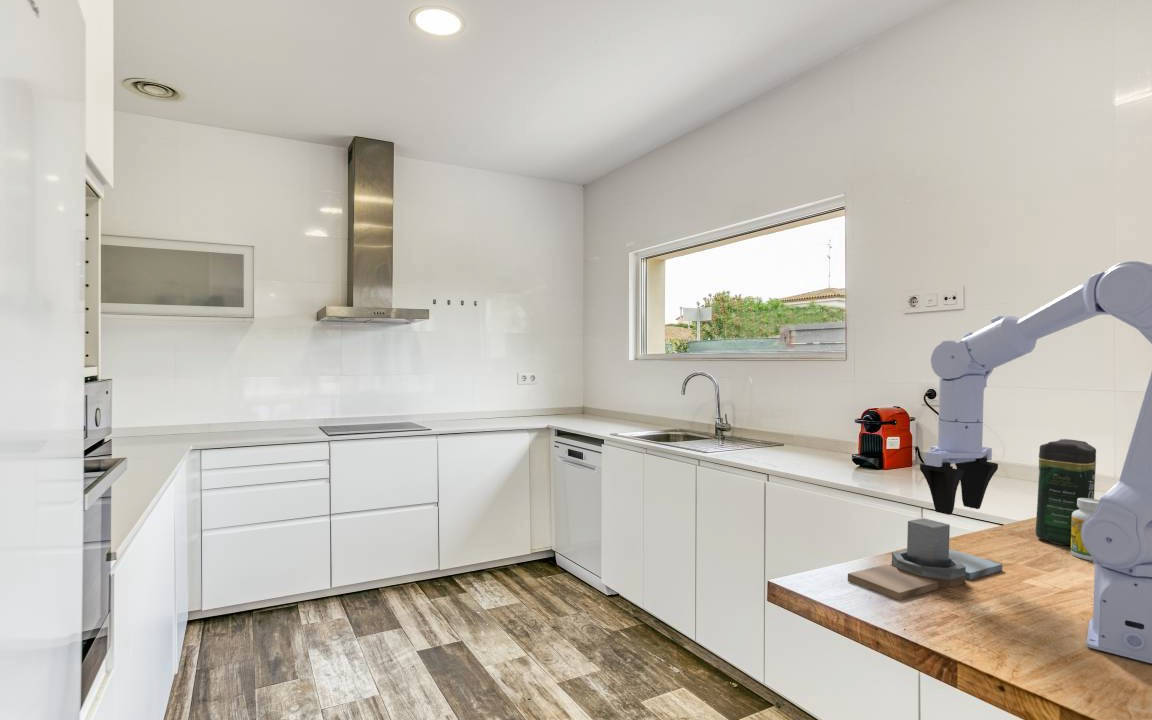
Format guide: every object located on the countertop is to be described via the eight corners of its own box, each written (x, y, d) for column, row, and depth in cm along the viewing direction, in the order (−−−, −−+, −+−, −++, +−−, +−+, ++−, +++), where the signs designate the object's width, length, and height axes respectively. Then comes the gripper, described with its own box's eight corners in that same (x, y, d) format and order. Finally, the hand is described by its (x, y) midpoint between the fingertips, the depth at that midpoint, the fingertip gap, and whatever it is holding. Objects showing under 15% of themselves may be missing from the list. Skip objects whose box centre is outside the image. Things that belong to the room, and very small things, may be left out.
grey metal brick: (932, 582, 90) (934, 527, 90) (906, 573, 94) (907, 521, 93) (948, 577, 92) (949, 524, 92) (922, 569, 95) (923, 518, 95)
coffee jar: (1085, 551, 106) (1088, 444, 106) (1030, 539, 112) (1033, 438, 112) (1098, 541, 112) (1101, 440, 112) (1045, 531, 119) (1048, 435, 118)
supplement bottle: (1110, 565, 99) (1112, 506, 99) (1068, 557, 103) (1070, 500, 103) (1112, 557, 103) (1114, 500, 103) (1072, 550, 107) (1073, 495, 107)
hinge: (902, 601, 82) (903, 583, 82) (844, 579, 90) (844, 562, 90) (1005, 571, 95) (1006, 556, 95) (946, 554, 103) (947, 540, 103)
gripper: (959, 416, 100) (957, 499, 100) (906, 419, 93) (903, 509, 93) (1007, 421, 94) (1004, 509, 94) (954, 425, 87) (951, 520, 87)
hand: (957, 510), depth 93 cm, fingers open, 7 cm apart
